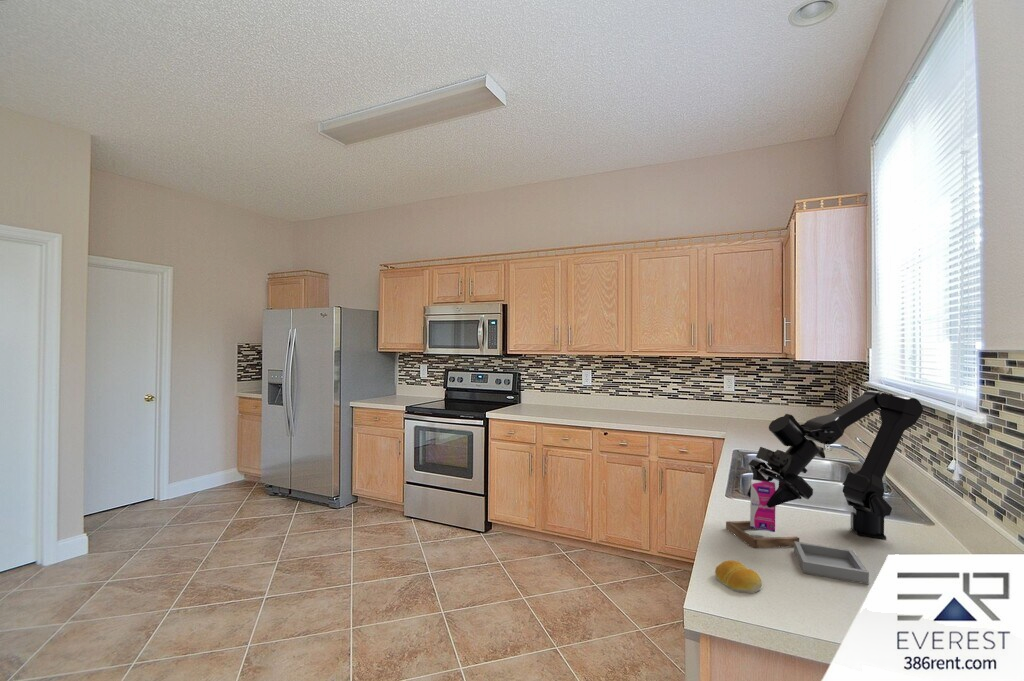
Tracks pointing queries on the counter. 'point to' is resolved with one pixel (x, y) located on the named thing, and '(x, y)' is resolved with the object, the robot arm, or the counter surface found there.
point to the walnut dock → (738, 528)
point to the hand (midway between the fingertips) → (757, 501)
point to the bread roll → (738, 577)
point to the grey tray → (830, 562)
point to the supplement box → (762, 505)
